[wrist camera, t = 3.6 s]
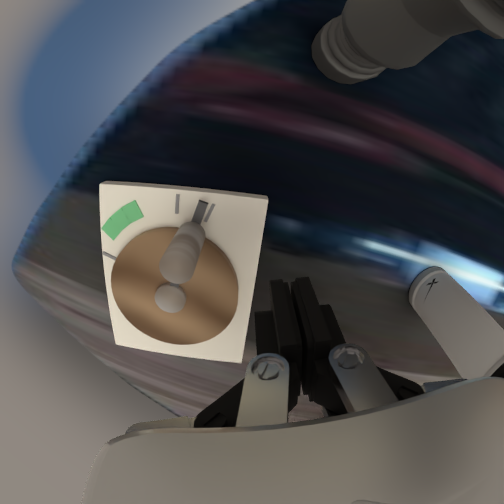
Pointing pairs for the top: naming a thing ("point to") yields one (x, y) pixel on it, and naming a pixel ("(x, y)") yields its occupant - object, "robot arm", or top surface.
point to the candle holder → (396, 33)
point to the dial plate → (174, 215)
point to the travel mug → (459, 324)
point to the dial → (176, 283)
